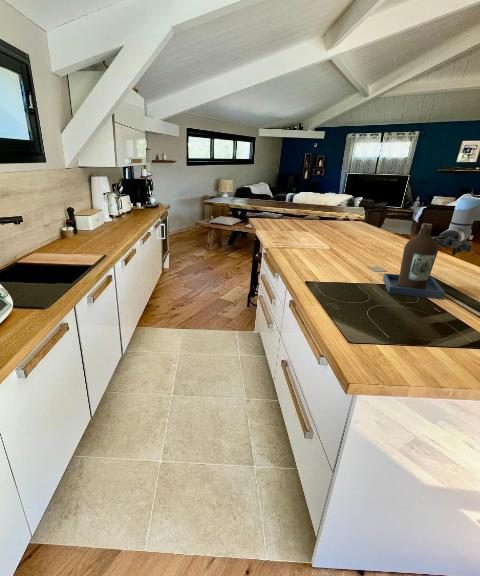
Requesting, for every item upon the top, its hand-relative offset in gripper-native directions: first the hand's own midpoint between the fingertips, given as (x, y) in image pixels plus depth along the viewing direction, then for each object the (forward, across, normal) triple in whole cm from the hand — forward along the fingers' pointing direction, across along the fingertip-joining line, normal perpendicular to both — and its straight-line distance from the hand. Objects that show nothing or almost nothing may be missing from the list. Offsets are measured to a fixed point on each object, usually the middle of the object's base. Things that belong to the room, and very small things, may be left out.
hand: (432, 248), depth 124 cm
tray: (+10, +2, -15) cm, 18 cm away
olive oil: (+10, +2, -14) cm, 17 cm away
